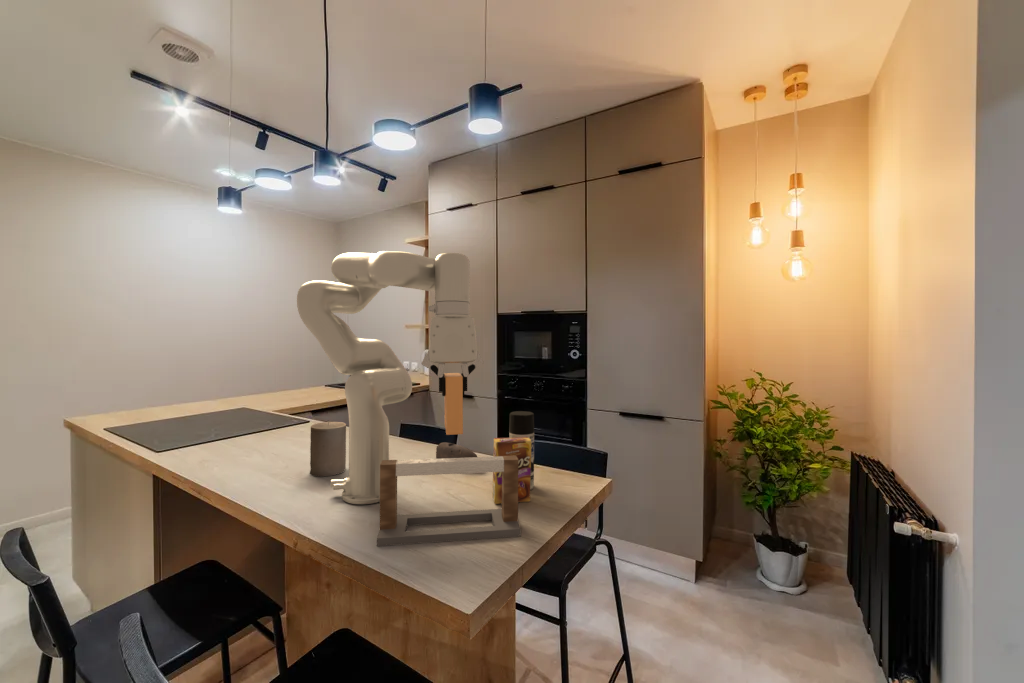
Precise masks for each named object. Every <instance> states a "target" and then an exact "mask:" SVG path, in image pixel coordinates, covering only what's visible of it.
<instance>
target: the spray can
mask: <svg viewBox="0 0 1024 683" xmlns="http://www.w3.org/2000/svg"><path fill="white" fill-rule="evenodd" d="M508 426H509V427H508V430H509V431H508V433H509V434H508V435H509V437H508V438H514V437H528V438H529V439H530V440H531V479H530V491H532V490H533V489H534V487H535V485H534V484H535V414H534V412H532V411H526V410H525V411H523V410H518V411H517V410H515V411H511V412H510V413H509V425H508Z"/></svg>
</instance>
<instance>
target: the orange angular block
mask: <svg viewBox="0 0 1024 683" xmlns="http://www.w3.org/2000/svg"><path fill="white" fill-rule="evenodd" d="M444 374H445V386H446V395H445V396H443V398H444V429H445V433H446V434H445V435H446V436H450V435H463V434H464V410H463V408H464V406H463V405H464V403H463V402H464V401H463V399H464V397H463V396H464V395H463V376H462V375H461V373H460V372H449V373H448V372H447V373H446V372H444Z"/></svg>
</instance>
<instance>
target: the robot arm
mask: <svg viewBox="0 0 1024 683" xmlns="http://www.w3.org/2000/svg"><path fill="white" fill-rule="evenodd" d="M330 268H331V273H332V275H333V277H334V278H335V279H336V280H337V281H338V282H335V281H331V280H330V281H329V280H321V279H320V280H317V279H316V280H311V281H307V282H305V283H303V284H301V286H300V287H299V289H298V291H297V294H296V307H297V311H298V315H299V317H300V319H301V321H302V323H303V324H304V325H305V326H306V328H307V329H308V331H309V332H310V333H311V334H312V335H313V336H314V337H315V338H316V340H317V341H318V343H319V344H320V346H321V348H322V350H323V351H324V353H325V354H326V356H327V357H328V359H329V361H330V362H331V364H332V365H333V367H334V368H335V369H336V371H337V372H338V373H339V374H342V375H343V376H344V375H346V376H349V377H348V378H347V379H346V381H345V383H344V396H345V399H346V404H347V412H348V477H345V478H344V479H343V478H341V479H340V478H332V479H331V480H330V488H333V490H334V491H335V490H337V491H338V490H343V491H342V493H341V499H342V500H343V501H344V502H345V503H348V504H352V505H369V504H376V503H380V464H381V462H382V460H390V423H389V418H388V416H387V414H386V412H385V410H384V409H383V407H384V406H386V405H391V404H397V403H401V402H403V401H405V400H407V399H408V398H409V397H410V396H411V393H412V391H413V382H412V378H411V376H410V374H409V372H408V371H407V369H406V367H405V366H404V365H403V363H402V362H401V360H400V359H399V357H398V356H397V355H396V354H395V352H394V351H393V349H392V348H391V347H390V345H389V344H387V343H386V342H385V341H383V340H380V339H376V338H362V337H358V336H357V335H356V334H355V333H354V331H353V330H351V327H350V326H349V325H348V324H347V323H346V321H344V319H342V318H341V317H339V316H337V315H336V314H343V315H344V314H345V315H346V314H348V315H350V314H351V315H352V314H353V315H354V314H358V313H361V311H362V310H364V309H365V308H366V307H367V306H368V304H370V302H371V301H372V300H373V299H374V298H375V297H376V295H378V293H380V292H381V291H382V290H383V289H386V288H389V286H390V287H400V288H406V289H414V290H420V291H426V292H434V304H431V305H428V312H429V313H433V314H434V315H435V316H433V317H431V320H430V327H429V337H428V338H429V344H428V345H429V346H428V351H427V353H426V354H425V356H424V357H423V359H422V361H421V365H422V366H423V367H425V368H427V369H428V370H431V371H432V372H433V373H434V374H435V375H436V376H437V377H438V393H441V395H442V397H444V396H445V395H446V386H445V374H444V373H445V365H446V364H460V367H461V373H460V374H461V375H462V376H463V396H465V392H468V378H469V376H470V375H471V373H472V372H473V371H474V370H475V369H477V368H479V367H481V366H482V365H483V364H484V360H483V358H482V356H481V355H480V353H479V351H478V345H477V331H476V323H475V317H472V316H471V304H470V303H471V299H470V298H471V296H470V295H471V288H470V287H471V285H470V284H471V281H470V280H471V279H470V278H471V277H470V273H471V272H470V271H471V270H470V269H471V267H470V260H469V258H468V256H467V255H465V254H462V253H460V252H459V253H458V252H444V253H440V254H438V255H437V256H436V257H435V258H434V257H433V258H432V257H427V256H425V255H421V254H416V253H412V252H406V251H396V250H395V251H389V250H386V251H385V250H382V251H378V252H377V253H373V252H371V253H370V252H344V253H341V254H339V255H337V256H336V257H335V258H334V259H333V261H332V263H331V267H330ZM432 362H433V363H432ZM434 363H435V364H438V366H436V365H435V364H434ZM468 363H469V365H468ZM470 363H471V364H470Z"/></svg>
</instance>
